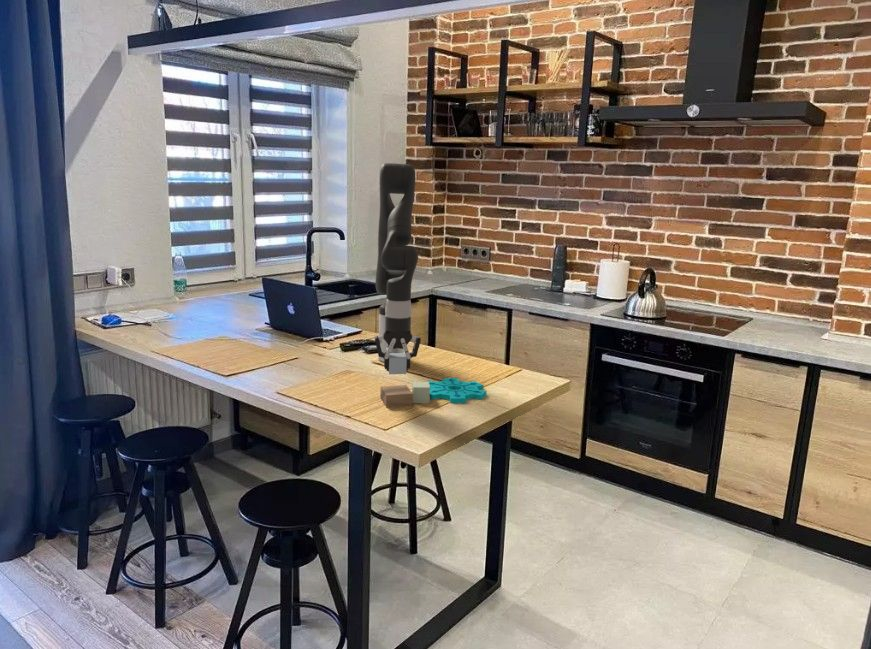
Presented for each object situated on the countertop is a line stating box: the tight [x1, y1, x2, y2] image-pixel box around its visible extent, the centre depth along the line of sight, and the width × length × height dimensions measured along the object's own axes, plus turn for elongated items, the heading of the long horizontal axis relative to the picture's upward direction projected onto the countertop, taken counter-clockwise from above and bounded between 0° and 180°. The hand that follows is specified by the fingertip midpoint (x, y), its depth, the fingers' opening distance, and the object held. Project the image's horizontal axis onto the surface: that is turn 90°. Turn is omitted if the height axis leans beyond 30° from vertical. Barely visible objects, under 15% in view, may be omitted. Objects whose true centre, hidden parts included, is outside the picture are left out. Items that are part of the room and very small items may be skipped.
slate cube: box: [388, 352, 407, 375], centre depth 194 cm, size 5×5×5 cm
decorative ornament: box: [426, 377, 488, 404], centre depth 207 cm, size 20×2×20 cm
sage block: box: [411, 381, 431, 404], centre depth 199 cm, size 5×5×5 cm
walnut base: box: [379, 384, 414, 408], centre depth 196 cm, size 8×8×4 cm
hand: (396, 370), depth 195 cm, fingers closed on slate cube, 5 cm apart
